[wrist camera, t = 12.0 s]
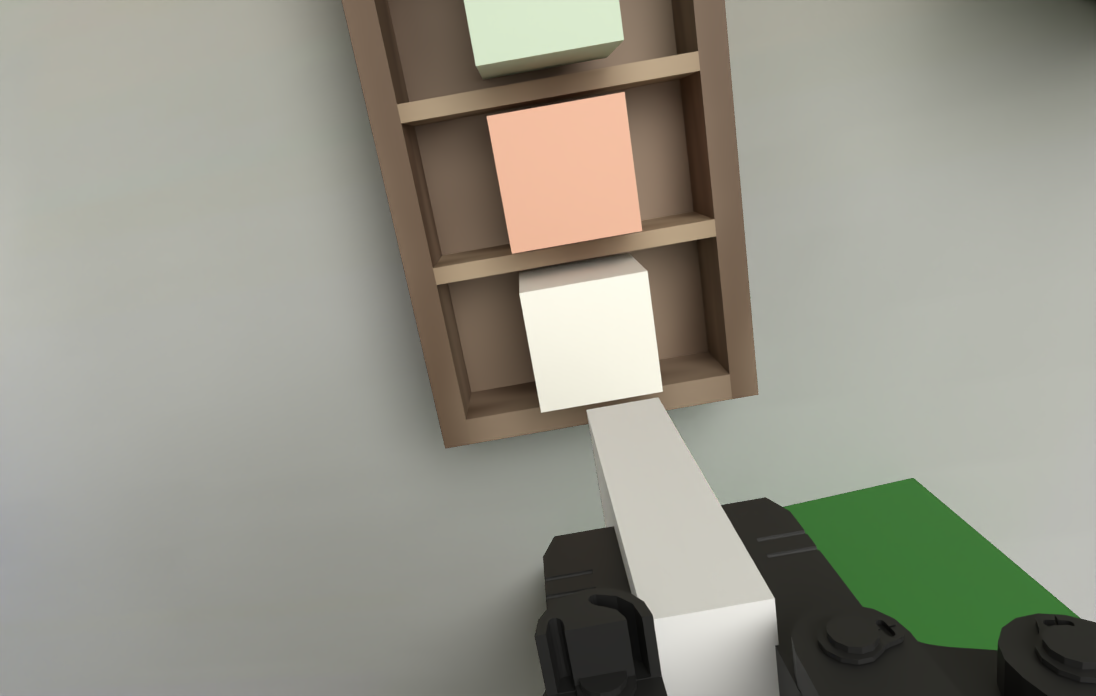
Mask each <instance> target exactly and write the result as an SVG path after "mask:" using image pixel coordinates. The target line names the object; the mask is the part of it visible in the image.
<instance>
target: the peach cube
mask: <svg viewBox="0 0 1096 696" xmlns="http://www.w3.org/2000/svg"><path fill="white" fill-rule="evenodd" d="M487 121H488V127H489V132H490V138H491V143H492V148H493V154H494V159H495V165H496V170H497V176H498V181H499V186H500V192H501V197H502V203H503V208H504V214H505V219H506V224H507V230H508V235H509V241H510V246H511V252H512V254H514V253H519V252H525V251H531V250H536V249H542V248H548V247H554V246H559V245H565V244H571V243H577V242H582V241H588V240H594V239H599V238H605V237H611V236H617V235H622V234H628V233H634V232H640V231H642V224H641V217H640V209H639V201H638V193H637V185H636V177H635V170H634V162H633V154H632V146H631V138H630V131H629V123H628V115H627V107H626V99H625V92H621V93H615V94H610V95H604V96H598V97H593V98H587V99H581V100H576V101H570V102H564V103H559V104H553V105H547V106H542V107H536V108H530V109H525V110H519V111H513V112H508V113H502V114H496V115H491V116H487Z"/></svg>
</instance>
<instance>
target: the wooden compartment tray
mask: <svg viewBox="0 0 1096 696" xmlns="http://www.w3.org/2000/svg"><path fill="white" fill-rule="evenodd" d="M342 4H343V8H344V12H345V17H346V21H347V25H348V30H349V34H350V38H351V43H352V47H353V51H354V56H355V60H356V64H357V69H358V73H359V77H360V82H361V86H362V90H363V95H364V99H365V103H366V108H367V112H368V116H369V121H370V125H371V129H372V134H373V138H374V142H375V146H376V151H377V155H378V159H379V164H380V168H381V172H382V177H383V181H384V185H385V190H386V194H387V198H388V203H389V207H390V211H391V216H392V220H393V224H394V229H395V233H396V237H397V242H398V246H399V250H400V255H401V259H402V263H403V268H404V272H405V276H406V281H407V285H408V289H409V293H410V298H411V302H412V306H413V311H414V315H415V319H416V324H417V328H418V332H419V337H420V341H421V345H422V350H423V354H424V358H425V363H426V367H427V371H428V376H429V380H430V384H431V389H432V393H433V397H434V402H435V406H436V410H437V415H438V419H439V423H440V428H441V432H442V436H443V440H444V445H445V448H451V447H457V446H462V445H468V444H474V443H480V442H486V441H491V440H497V439H503V438H509V437H515V436H520V435H526V434H532V433H538V432H544V431H549V430H555V429H561V428H567V427H573V426H578V425H584V424H589V423H588V417H587V411H586V410H588V409H594V408H600V407H605V406H611V405H617V404H623V403H628V402H634V401H640V400H645V399H651V398H657V397H658V398H659V399H660V401H661V403H662V404H663V406H664V408H665V410H671V409H677V408H683V407H689V406H695V405H700V404H706V403H712V402H718V401H724V400H729V399H735V398H741V397H747V396H753V395H758V385H757V373H756V361H755V350H754V338H753V326H752V314H751V303H750V291H749V279H748V268H747V256H746V244H745V233H744V221H743V209H742V198H741V186H740V174H739V162H738V151H737V139H736V127H735V116H734V104H733V92H732V81H731V69H730V57H729V46H728V34H727V22H726V10H725V0H619V4H620V12H621V20H622V28H623V36H624V40H623V41H622V42H621V43H620V45H619V46H618V47H617V48H616V49H615V50H614V51H613V52H612V53H611V54H610V55H609V56H608V57H607V58H603V59H597V60H592V61H586V62H580V63H575V64H569V65H563V66H558V67H552V68H546V69H541V70H535V71H530V72H524V73H518V74H513V75H507V76H501V77H496V78H490V79H484V80H483V79H482V77H481V75H480V73H479V71H478V69H477V67H476V64H475V59H474V53H473V48H472V43H471V37H470V32H469V26H468V21H467V16H466V10H465V5H464V0H342ZM621 92H625V99H626V107H627V115H628V123H629V131H630V138H631V146H632V154H633V162H634V170H635V177H636V185H637V193H638V201H639V209H640V217H641V224H642V231H640V232H634V233H628V234H622V235H617V236H611V237H605V238H599V239H594V240H588V241H582V242H577V243H571V244H565V245H559V246H554V247H548V248H542V249H536V250H531V251H525V252H519V253H514V254H512V252H511V246H510V241H509V235H508V230H507V224H506V219H505V214H504V208H503V203H502V197H501V192H500V186H499V181H498V176H497V170H496V165H495V159H494V154H493V148H492V143H491V138H490V132H489V127H488V121H487V116H491V115H496V114H502V113H508V112H513V111H519V110H525V109H530V108H536V107H542V106H547V105H553V104H559V103H564V102H570V101H576V100H581V99H587V98H593V97H598V96H604V95H610V94H615V93H621ZM624 253H629V254H630V255H631V256H632V257H633V258H634V259H636V260H637V261H638V262H639V263H640V264H641V265H642V266H643V267H644V268H645V269H646V270H647V271H648V279H649V287H650V295H651V302H652V310H653V318H654V326H655V334H656V341H657V349H658V357H659V365H660V373H661V381H662V388H663V392H658V393H652V394H647V395H641V396H635V397H629V398H623V399H618V400H612V401H606V402H600V403H594V404H589V405H583V406H577V407H571V408H565V409H560V410H554V411H548V412H542V413H541V409H540V404H539V398H538V393H537V387H536V382H535V376H534V371H533V366H532V360H531V355H530V349H529V344H528V338H527V333H526V328H525V322H524V317H523V311H522V306H521V300H520V295H519V272H521V271H527V270H532V269H538V268H544V267H550V266H555V265H561V264H567V263H572V262H578V261H584V260H590V259H595V258H601V257H607V256H613V255H618V254H624Z"/></svg>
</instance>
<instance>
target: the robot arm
mask: <svg viewBox="0 0 1096 696" xmlns="http://www.w3.org/2000/svg"><path fill="white" fill-rule="evenodd" d="M586 411H587V417H588V423H589V429H590V435H591V441H592V447H593V453H594V460H595V466H596V472H597V478H598V484H599V490H600V496H601V502H602V508H603V514H604V521H605V526H606V528H601V529H595V530H589V531H583V532H578V533H572V534H566V535H561V536H555V537H554V538H553V540H552V542H551V544H550V545H549V547H548V549H547V551H546V553H545V554H544V556H543V561H544V576H545V590H546V605H547V610H546V611H545V613H544V614H543V615H542V616H541V618H540V619H539V620H538V624H537V629H536V633H535V640H536V644H537V649H538V654H539V659H540V664H541V668H542V673H543V678H544V683H545V688H546V690H545V693H544V694H543V696H1096V623H1095V622H1092V621H1088V620H1084V619H1080V618H1076V617H1072V616H1068V615H1060V614H1041V613H1037V614H1032V615H1027V616H1022V617H1017V618H1015V619H1013V620H1012V621H1011V622H1009V623H1008V624H1006V625H1005V626H1004V627H1002V629H1001V632H1000V636H999V640H998V650H988V649H974V648H959V647H946V646H939V645H932V644H926V643H922V642H919V641H917V640H916V638H915V637H914V636H913V635H912V634H911V632H910V631H908V630H907V629H906V628H905V627H904V626H903V625H901V624H900V623H899V622H898V621H897V620H896V619H894V618H892V617H890V616H888V615H886V614H884V613H881V612H879V611H877V610H875V609H872V608H867V607H863V606H862V605H861V604H860V602H859V601H858V600H857V599H856V597H855V596H854V595H853V593H852V592H851V591H850V589H849V588H848V587H847V585H846V584H845V583H844V581H843V580H842V579H841V578H840V576H839V575H838V574H837V572H836V571H835V570H834V568H833V567H832V566H831V564H830V563H829V562H828V560H827V559H826V558H825V556H824V555H823V554H822V553H821V551H820V550H817V547H816V545H815V543H814V542H813V541H812V539H811V538H810V537H809V535H808V534H805V531H804V529H803V528H802V526H801V525H800V524H799V522H798V521H797V520H796V518H795V517H794V516H793V514H792V513H791V512H790V511H789V510H787V509H785V508H783V507H782V506H780V505H778V504H776V503H774V502H773V501H771V500H769V499H767V498H766V497H765V498H760V499H754V500H748V501H742V502H737V503H731V504H725V505H720V503H719V501H718V500H717V498H716V496H715V494H714V493H713V491H712V489H711V487H710V486H709V484H708V482H707V480H706V479H705V477H704V475H703V474H702V472H701V470H700V468H699V467H698V465H697V463H696V461H695V460H694V458H693V456H692V455H691V453H690V451H689V449H688V448H687V446H686V444H685V442H684V441H683V439H682V437H681V436H680V434H679V432H678V430H677V429H676V427H675V425H674V423H673V422H672V420H671V418H670V417H669V415H668V413H667V411H666V410H665V408H664V406H663V404H662V403H661V401H660V399H659V398H658V397H657V398H651V399H645V400H640V401H634V402H628V403H623V404H617V405H611V406H605V407H600V408H594V409H588V410H586Z"/></svg>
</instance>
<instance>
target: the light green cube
mask: <svg viewBox="0 0 1096 696" xmlns="http://www.w3.org/2000/svg"><path fill="white" fill-rule="evenodd" d="M464 5H465V10H466V16H467V21H468V26H469V32H470V37H471V43H472V48H473V53H474V59H475V64H476V67H477V69H478V71H479V73H480V75H481V77H482V79H483V80H484V79H490V78H496V77H501V76H507V75H513V74H518V73H524V72H530V71H535V70H541V69H546V68H552V67H558V66H563V65H569V64H575V63H580V62H586V61H592V60H597V59H603V58H607V57H608V56H609V55H610V54H611V53H612V52H613V51H614V50H615V49H616V48H617V47H618V46H619V45H620V43H621V42H622V41H623V40H624V36H623V28H622V20H621V12H620V4H619V0H464Z"/></svg>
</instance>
